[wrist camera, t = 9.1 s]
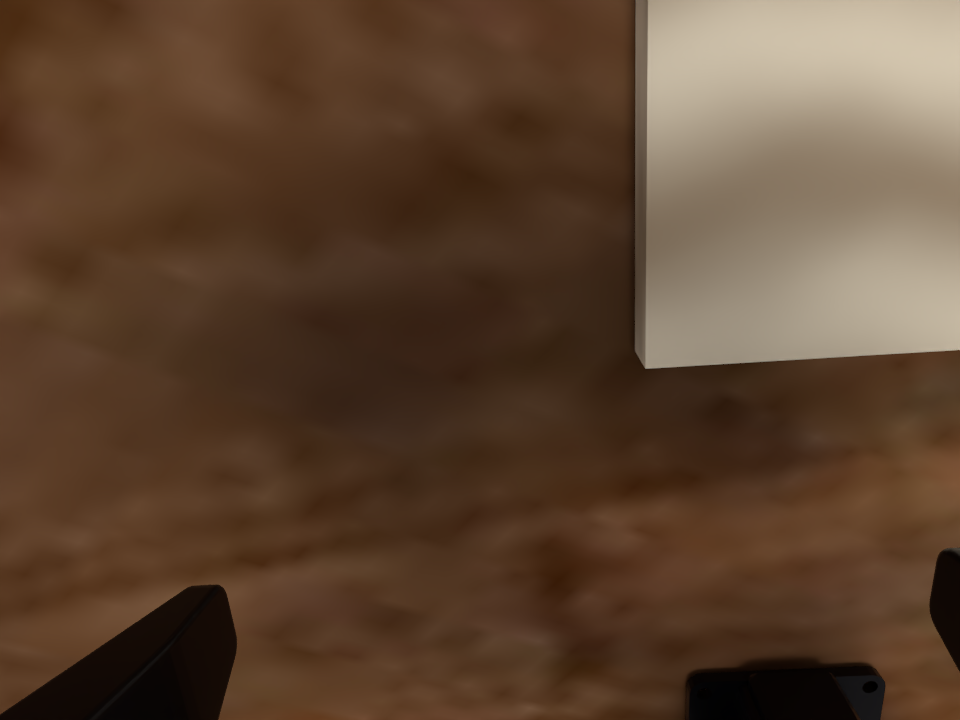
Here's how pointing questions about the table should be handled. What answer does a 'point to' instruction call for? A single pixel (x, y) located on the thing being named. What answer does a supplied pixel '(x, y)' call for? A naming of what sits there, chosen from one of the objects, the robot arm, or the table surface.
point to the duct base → (796, 179)
